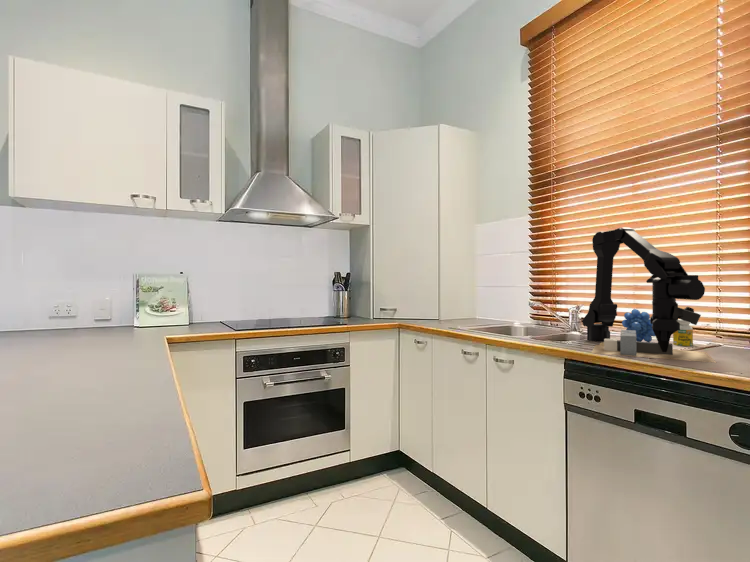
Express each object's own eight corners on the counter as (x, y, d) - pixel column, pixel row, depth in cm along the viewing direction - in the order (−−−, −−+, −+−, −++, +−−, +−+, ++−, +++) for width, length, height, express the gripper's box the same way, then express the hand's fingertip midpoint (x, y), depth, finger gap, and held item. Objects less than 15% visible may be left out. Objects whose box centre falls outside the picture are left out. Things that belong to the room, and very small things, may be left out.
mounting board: (591, 357, 127) (591, 353, 127) (595, 348, 142) (595, 344, 142) (716, 367, 112) (716, 362, 112) (706, 356, 127) (706, 352, 127)
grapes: (617, 341, 157) (617, 309, 157) (624, 339, 162) (624, 308, 162) (652, 345, 148) (652, 310, 148) (659, 343, 153) (659, 309, 152)
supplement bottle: (689, 347, 143) (689, 319, 143) (695, 350, 138) (695, 320, 138) (670, 346, 144) (670, 318, 144) (676, 349, 139) (676, 320, 139)
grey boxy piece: (620, 354, 124) (620, 335, 124) (621, 346, 137) (621, 329, 137) (636, 355, 122) (636, 336, 122) (635, 347, 135) (635, 330, 135)
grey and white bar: (599, 350, 132) (599, 339, 132) (600, 348, 135) (600, 338, 135) (672, 355, 122) (672, 344, 122) (671, 353, 126) (671, 342, 126)
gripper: (703, 300, 113) (703, 359, 113) (693, 297, 129) (693, 348, 129) (653, 299, 118) (653, 355, 119) (650, 296, 134) (650, 346, 135)
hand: (664, 351), depth 125 cm, fingers closed on grey and white bar, 2 cm apart
